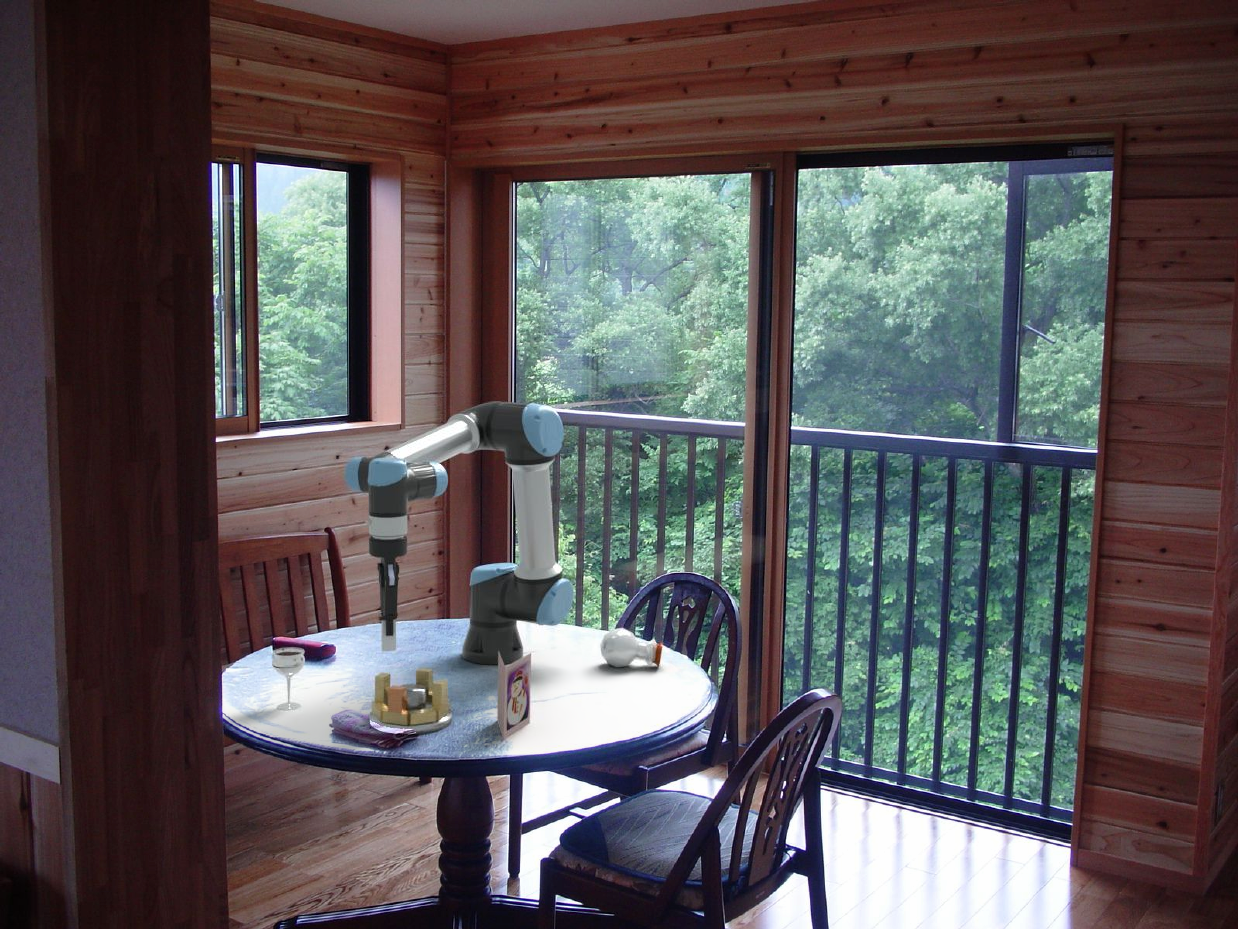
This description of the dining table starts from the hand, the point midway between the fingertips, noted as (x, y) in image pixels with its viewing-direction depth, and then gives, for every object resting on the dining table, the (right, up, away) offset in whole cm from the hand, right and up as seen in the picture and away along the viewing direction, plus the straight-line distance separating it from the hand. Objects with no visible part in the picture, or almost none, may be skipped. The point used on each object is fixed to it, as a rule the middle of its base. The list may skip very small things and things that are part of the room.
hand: (388, 649), depth 242 cm
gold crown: (+3, -14, +7) cm, 16 cm away
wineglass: (-24, -14, +14) cm, 31 cm away
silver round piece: (+3, -16, +7) cm, 18 cm away
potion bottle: (+50, -12, +51) cm, 72 cm away
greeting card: (+23, -17, +4) cm, 29 cm away
